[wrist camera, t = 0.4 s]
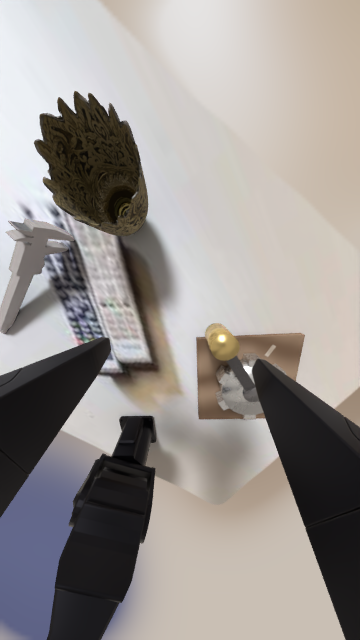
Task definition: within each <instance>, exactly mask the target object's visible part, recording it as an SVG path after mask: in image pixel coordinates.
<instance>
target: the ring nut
mask: <svg viewBox="0 0 360 640" xmlns="http://www.w3.org/2000/svg"><path fill="white" fill-rule="evenodd" d="M205 337H206V339H207V342H208V344H209V347H210V349H211V352H212V354H213V356H214V357H215V358H217V359H219V360H223V361H227V363H228V365H229V366H228V367H227V368H226V367H224V366H222V365H221V366H220V368H219V369H218V371H217V372H216V376H217V379H218V382H219V387H220V391H218V392H216V393H215V394H216V397H217V401H218V404H219V405H220V406H221V408H222V409H223V410H226V409H229V408H230V409H231V410H232V411H234V412H236V413H239V414H242V416H243V418H244V420H251V419H256V415H257V414H261V413H264V412H263V410H262V407H261V404H260V401H259V398H258V395H257V391H256V387H255V383H254V379H253V375H252V368H253V366H254V363H255V361H256V360H257V359H261V358H260V357H259V356H257V355H256V354H255V353H247V354H243V359H242V360H239V358H238V357H237V354H238V352H239V349H240V345H239V342H238V340H237V339H236V338H235V337H234V336H233V335H232V334H231V333H230V332H229V331H228V330H227V329H226V327H225V326H223V325H222V324H219V323H215V324H212V325H210V326H209V327H208V328H207V329H206V332H205ZM273 366H275V367H276V368H277V369H279V370H280V371H282V372H283V373H284V374H286V373H285V371H284V370H283V369H282V368H280V367H279V366H278V365H277V364H276V363H275V364H273ZM286 375H287V374H286Z"/></svg>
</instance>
